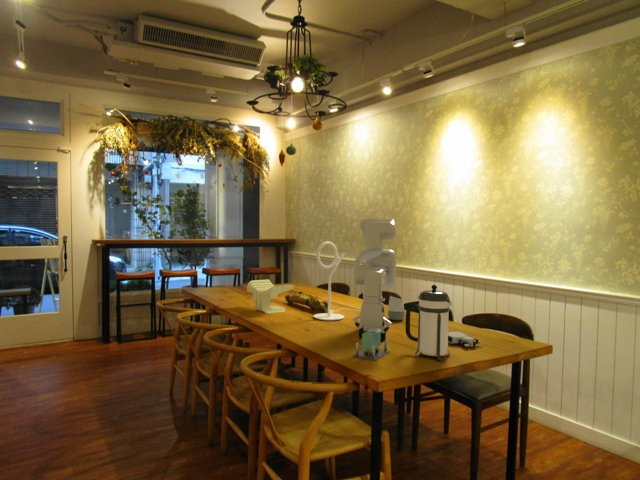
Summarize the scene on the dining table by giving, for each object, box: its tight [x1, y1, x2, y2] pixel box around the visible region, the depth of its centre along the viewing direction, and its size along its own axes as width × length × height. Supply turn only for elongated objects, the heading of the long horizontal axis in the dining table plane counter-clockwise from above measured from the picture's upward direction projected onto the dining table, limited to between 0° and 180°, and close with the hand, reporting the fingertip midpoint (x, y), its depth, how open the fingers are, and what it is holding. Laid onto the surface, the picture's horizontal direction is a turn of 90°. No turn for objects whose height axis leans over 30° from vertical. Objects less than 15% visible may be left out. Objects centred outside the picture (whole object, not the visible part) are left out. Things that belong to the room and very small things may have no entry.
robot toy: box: [448, 331, 483, 348], centre depth 204 cm, size 12×4×15 cm
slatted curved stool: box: [246, 279, 295, 314], centre depth 277 cm, size 30×16×18 cm, turn 37°
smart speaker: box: [387, 295, 405, 322], centre depth 256 cm, size 10×9×14 cm
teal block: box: [361, 329, 382, 350], centre depth 186 cm, size 10×4×6 cm, turn 149°
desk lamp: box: [313, 240, 361, 322], centre depth 264 cm, size 37×18×45 cm, turn 130°
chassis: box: [352, 337, 390, 362], centre depth 186 cm, size 15×10×6 cm, turn 149°
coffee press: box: [405, 284, 453, 362], centre depth 185 cm, size 17×16×30 cm
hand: (371, 340), depth 186 cm, fingers open, 9 cm apart
